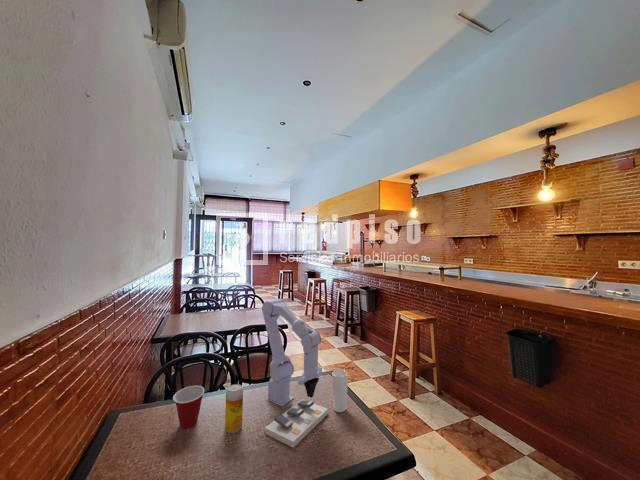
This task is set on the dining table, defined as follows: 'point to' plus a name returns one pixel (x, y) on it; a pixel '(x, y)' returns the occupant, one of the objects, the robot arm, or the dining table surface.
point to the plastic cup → (188, 405)
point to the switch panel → (297, 424)
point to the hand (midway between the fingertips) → (310, 396)
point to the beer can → (234, 408)
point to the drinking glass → (339, 390)
